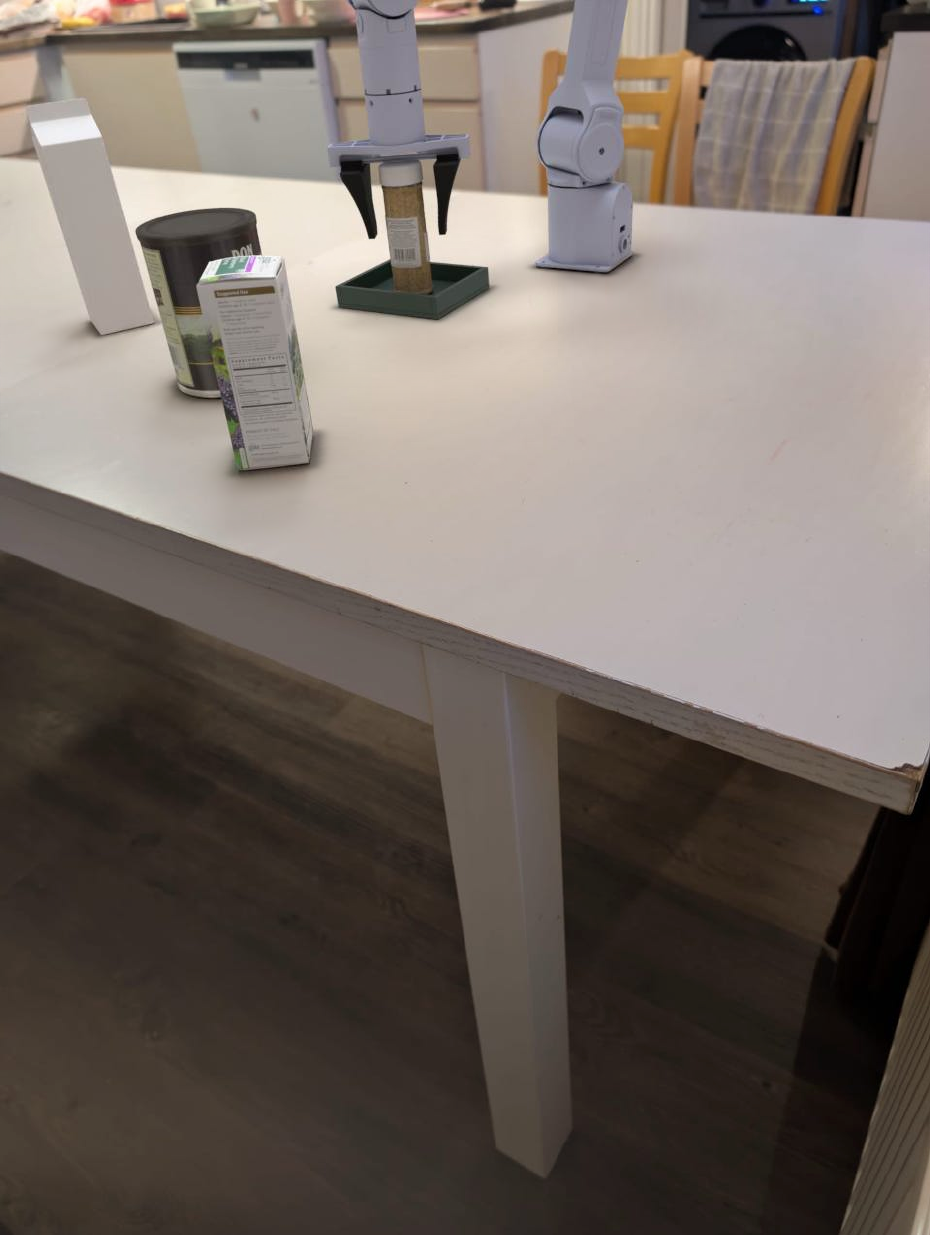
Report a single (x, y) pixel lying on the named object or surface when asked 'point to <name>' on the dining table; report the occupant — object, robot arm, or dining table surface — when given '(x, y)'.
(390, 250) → the sprinkles bottle
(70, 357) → the dining table surface
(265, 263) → the syrup box
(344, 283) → the serving tray
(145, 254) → the coffee can
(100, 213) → the milk
